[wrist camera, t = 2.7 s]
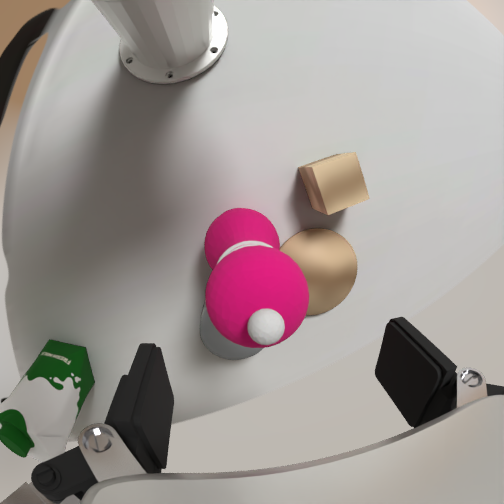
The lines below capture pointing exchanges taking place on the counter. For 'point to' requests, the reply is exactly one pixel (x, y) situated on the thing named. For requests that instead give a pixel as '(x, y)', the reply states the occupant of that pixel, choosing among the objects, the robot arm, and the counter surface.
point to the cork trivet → (323, 266)
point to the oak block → (334, 183)
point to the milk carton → (46, 402)
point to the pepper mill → (252, 281)
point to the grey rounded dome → (222, 341)
